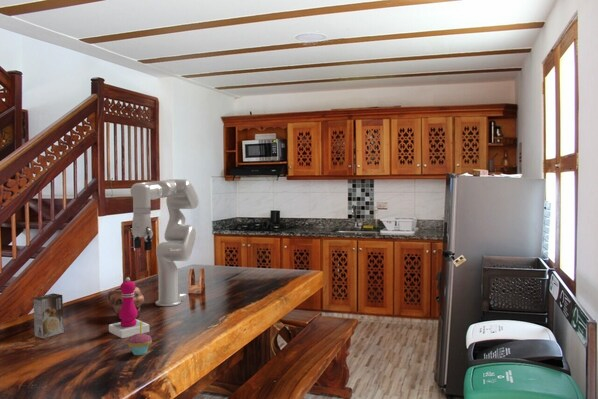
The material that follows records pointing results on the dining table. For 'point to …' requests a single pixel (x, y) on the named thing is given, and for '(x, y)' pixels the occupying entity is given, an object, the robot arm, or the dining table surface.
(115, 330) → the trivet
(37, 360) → the dining table surface
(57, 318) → the coffee box
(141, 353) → the cupcake
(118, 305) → the decorative planter
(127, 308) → the pepper mill
